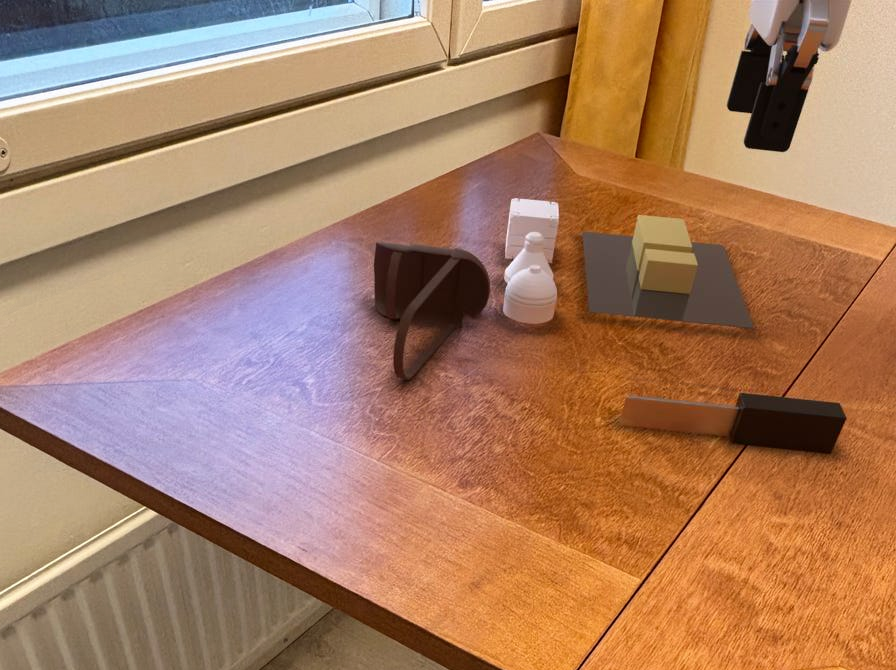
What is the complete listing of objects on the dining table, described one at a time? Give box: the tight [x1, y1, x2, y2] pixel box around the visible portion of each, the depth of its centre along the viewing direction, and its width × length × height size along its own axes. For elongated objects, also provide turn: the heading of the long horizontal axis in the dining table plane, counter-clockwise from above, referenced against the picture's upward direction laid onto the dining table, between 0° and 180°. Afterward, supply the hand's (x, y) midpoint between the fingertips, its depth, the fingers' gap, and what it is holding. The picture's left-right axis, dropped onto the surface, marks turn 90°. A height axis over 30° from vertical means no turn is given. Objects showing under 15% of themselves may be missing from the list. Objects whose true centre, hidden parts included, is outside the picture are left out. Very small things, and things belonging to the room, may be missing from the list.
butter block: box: [632, 214, 692, 271], centre depth 95 cm, size 5×8×3 cm, turn 174°
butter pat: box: [639, 249, 698, 294], centre depth 90 cm, size 5×3×3 cm, turn 84°
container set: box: [502, 197, 560, 325], centre depth 89 cm, size 20×5×6 cm, turn 175°
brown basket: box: [373, 241, 491, 380], centre depth 79 cm, size 18×12×7 cm, turn 170°
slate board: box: [582, 230, 755, 330], centre depth 94 cm, size 16×21×1 cm
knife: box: [619, 392, 848, 455], centre depth 72 cm, size 17×2×4 cm, turn 84°
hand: (755, 129), depth 68 cm, fingers open, 9 cm apart
